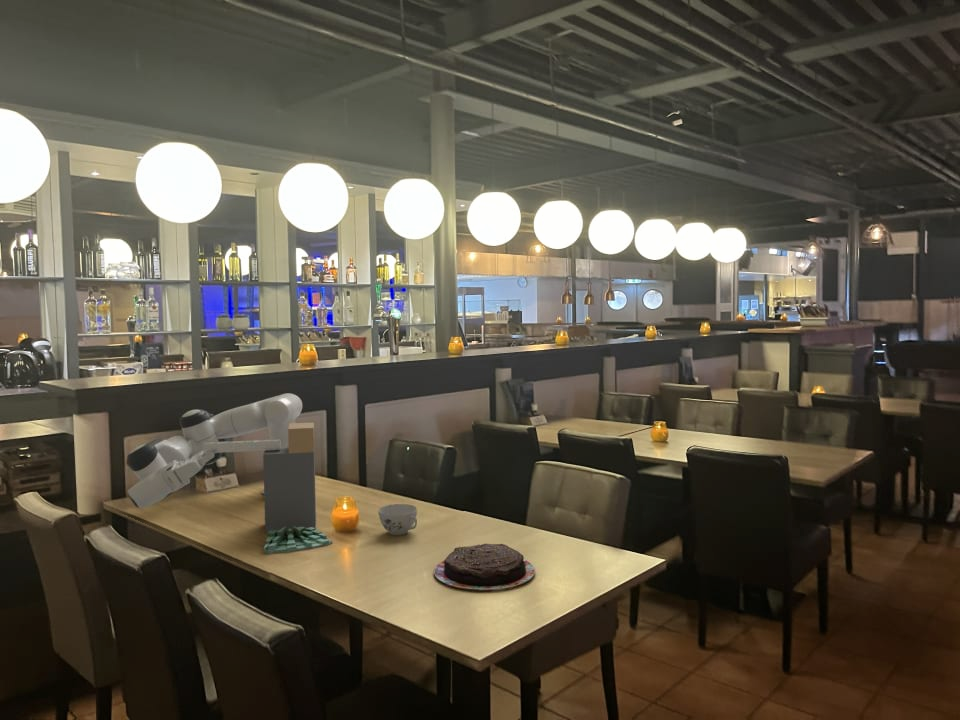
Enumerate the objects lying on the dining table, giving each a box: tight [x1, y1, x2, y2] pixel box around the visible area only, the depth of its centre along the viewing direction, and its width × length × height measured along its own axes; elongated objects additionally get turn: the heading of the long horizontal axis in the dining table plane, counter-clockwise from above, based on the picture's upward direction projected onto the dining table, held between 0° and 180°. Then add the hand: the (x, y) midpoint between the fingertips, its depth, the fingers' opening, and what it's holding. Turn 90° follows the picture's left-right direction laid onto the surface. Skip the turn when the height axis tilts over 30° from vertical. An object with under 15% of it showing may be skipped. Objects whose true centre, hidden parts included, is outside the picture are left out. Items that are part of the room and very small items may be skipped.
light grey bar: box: [203, 439, 281, 454], centre depth 243 cm, size 3×24×3 cm, turn 102°
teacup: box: [377, 503, 418, 536], centre depth 239 cm, size 15×12×8 cm
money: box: [263, 526, 333, 555], centre depth 228 cm, size 20×16×5 cm
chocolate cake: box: [433, 543, 536, 593], centre depth 203 cm, size 28×28×7 cm
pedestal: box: [262, 422, 317, 534], centre depth 247 cm, size 12×16×34 cm
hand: (215, 451), depth 241 cm, fingers open, 8 cm apart
